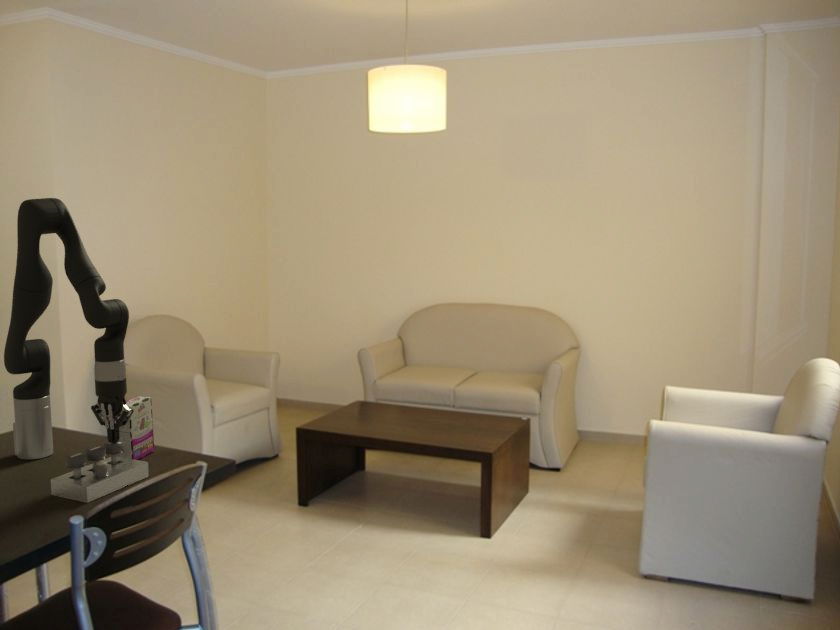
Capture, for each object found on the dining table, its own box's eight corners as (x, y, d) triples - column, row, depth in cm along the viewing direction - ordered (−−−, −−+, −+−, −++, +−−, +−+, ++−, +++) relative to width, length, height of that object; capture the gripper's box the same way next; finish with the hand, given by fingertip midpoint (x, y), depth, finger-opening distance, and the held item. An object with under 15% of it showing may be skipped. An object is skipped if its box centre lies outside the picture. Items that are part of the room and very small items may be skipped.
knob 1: (62, 480, 185) (61, 456, 184) (78, 474, 189) (77, 450, 189) (76, 483, 183) (75, 459, 182) (92, 477, 188) (91, 453, 187)
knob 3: (100, 466, 196) (99, 443, 195) (115, 460, 200) (114, 438, 199) (114, 468, 194) (113, 445, 193) (128, 463, 198) (127, 440, 198)
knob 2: (82, 472, 191) (80, 449, 190) (97, 467, 195) (96, 444, 194) (96, 475, 189) (95, 452, 188) (111, 469, 193) (110, 446, 192)
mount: (51, 494, 185) (50, 479, 184) (114, 470, 203) (113, 455, 203) (87, 502, 180) (86, 486, 180) (148, 476, 198) (148, 461, 198)
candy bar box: (139, 450, 220) (137, 395, 218) (154, 451, 219) (152, 396, 217) (116, 462, 209) (114, 405, 207) (133, 463, 208) (130, 406, 206)
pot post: (92, 477, 186) (92, 463, 186) (102, 473, 189) (101, 459, 188) (101, 478, 185) (101, 465, 185) (111, 475, 188) (110, 461, 187)
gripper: (79, 377, 193) (83, 442, 196) (118, 382, 188) (121, 449, 190) (102, 371, 200) (106, 435, 202) (140, 376, 195) (143, 441, 197)
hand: (113, 441), depth 196 cm, fingers closed
